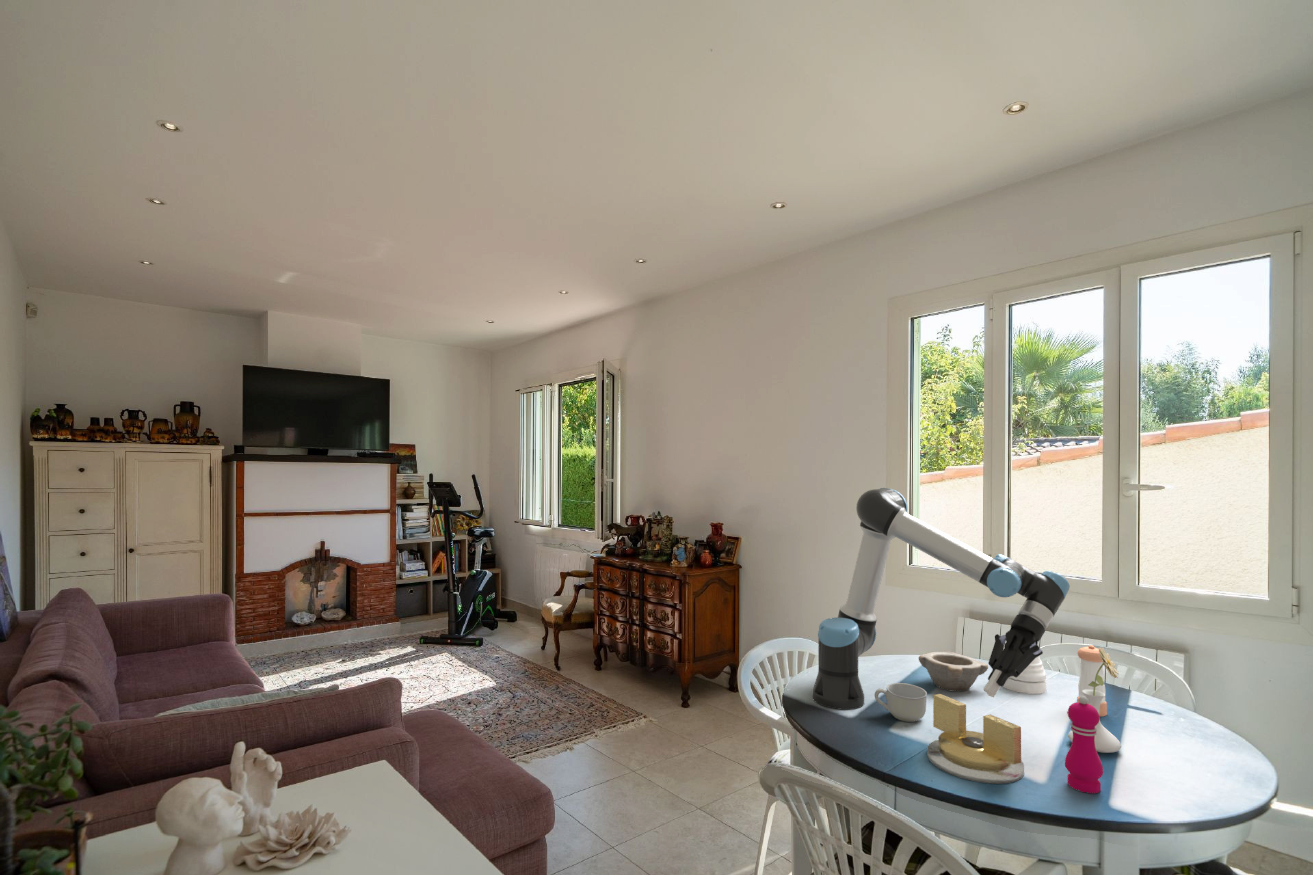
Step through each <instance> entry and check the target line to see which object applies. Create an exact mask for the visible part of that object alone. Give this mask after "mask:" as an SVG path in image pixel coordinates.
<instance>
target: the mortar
mask: <svg viewBox="0 0 1313 875" xmlns="http://www.w3.org/2000/svg"><path fill="white" fill-rule="evenodd" d="M918 662H919V663H920V665H921V667H923V668H925V670H927V671H926V672H927V673H928V675H929V677H930V679H931V681H932V682H933V684H934V685H935V686H936V687H938V688H939V689H942V690H945V691H949V692H950V691H951V692H965V691H968V690H970V688H972V686H973V685H974V683H975V682H976V680H977V679H978V677H979V676H980V675H981V676H982V675H984V674H985V673H986V672H987V671H988V669H989V666H988V665H989V664H987V663H986V662H983V661H980V660H977V659H975V658H973V657H971V656H968V655H963V654H959V653H956V652H953V651H934V652H927V653H922V654H920V655H919V656H918Z"/></svg>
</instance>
